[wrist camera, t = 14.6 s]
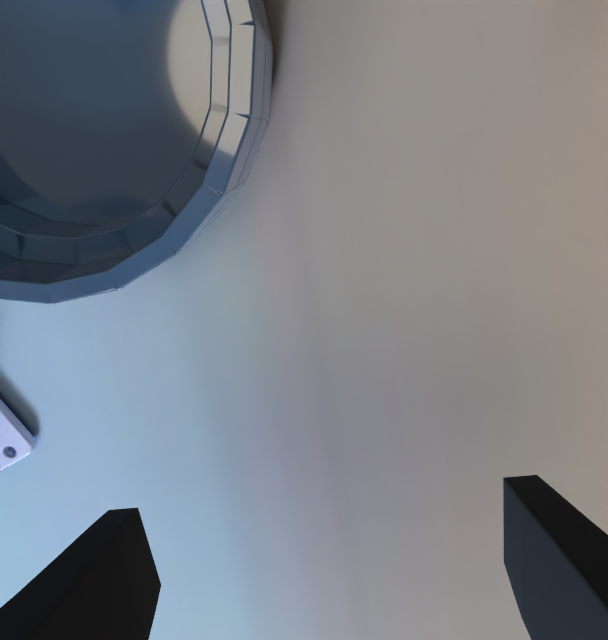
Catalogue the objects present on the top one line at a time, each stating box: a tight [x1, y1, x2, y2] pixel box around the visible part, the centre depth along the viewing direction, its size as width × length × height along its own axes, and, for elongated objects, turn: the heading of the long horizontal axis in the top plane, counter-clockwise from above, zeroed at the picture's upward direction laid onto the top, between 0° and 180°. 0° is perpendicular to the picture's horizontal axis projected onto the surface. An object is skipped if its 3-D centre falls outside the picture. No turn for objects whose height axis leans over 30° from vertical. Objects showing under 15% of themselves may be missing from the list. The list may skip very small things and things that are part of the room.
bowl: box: [0, 0, 273, 304], centre depth 14 cm, size 12×12×4 cm
